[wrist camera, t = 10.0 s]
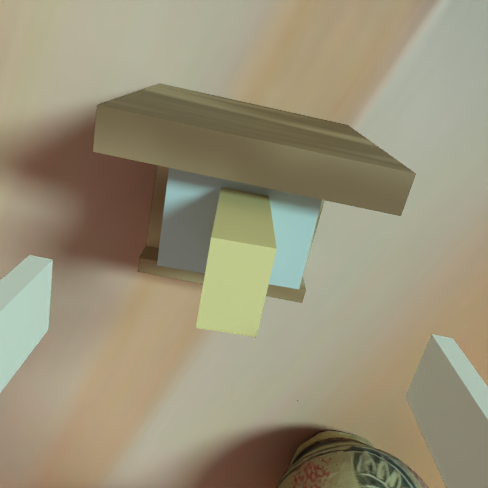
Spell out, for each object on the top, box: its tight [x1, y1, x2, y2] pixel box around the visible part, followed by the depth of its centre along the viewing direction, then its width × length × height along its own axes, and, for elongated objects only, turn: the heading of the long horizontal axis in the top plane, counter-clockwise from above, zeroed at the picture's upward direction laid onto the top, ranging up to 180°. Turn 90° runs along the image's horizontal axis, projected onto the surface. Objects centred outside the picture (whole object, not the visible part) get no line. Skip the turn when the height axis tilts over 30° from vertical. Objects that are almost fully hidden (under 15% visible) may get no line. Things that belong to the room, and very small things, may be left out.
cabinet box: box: [157, 168, 322, 337], centre depth 24 cm, size 6×8×13 cm
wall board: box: [93, 84, 416, 303], centre depth 29 cm, size 11×14×15 cm
